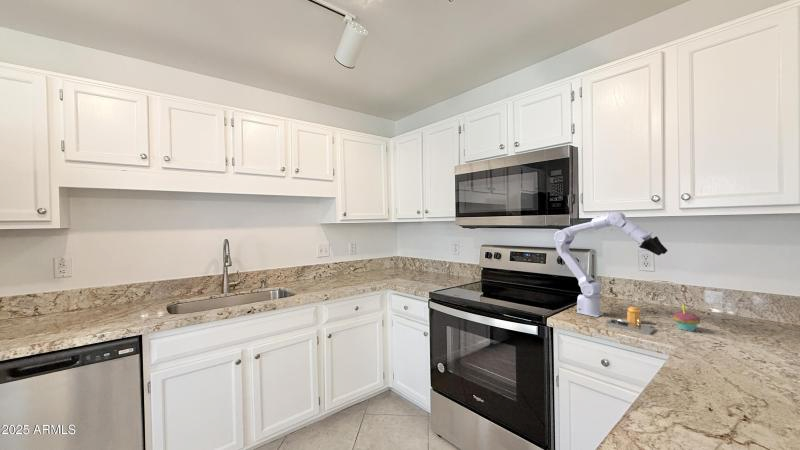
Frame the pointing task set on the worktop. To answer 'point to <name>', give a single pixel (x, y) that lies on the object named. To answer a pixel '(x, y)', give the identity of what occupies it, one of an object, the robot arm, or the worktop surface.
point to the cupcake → (686, 320)
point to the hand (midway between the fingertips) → (663, 253)
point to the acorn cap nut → (633, 314)
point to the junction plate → (631, 325)
